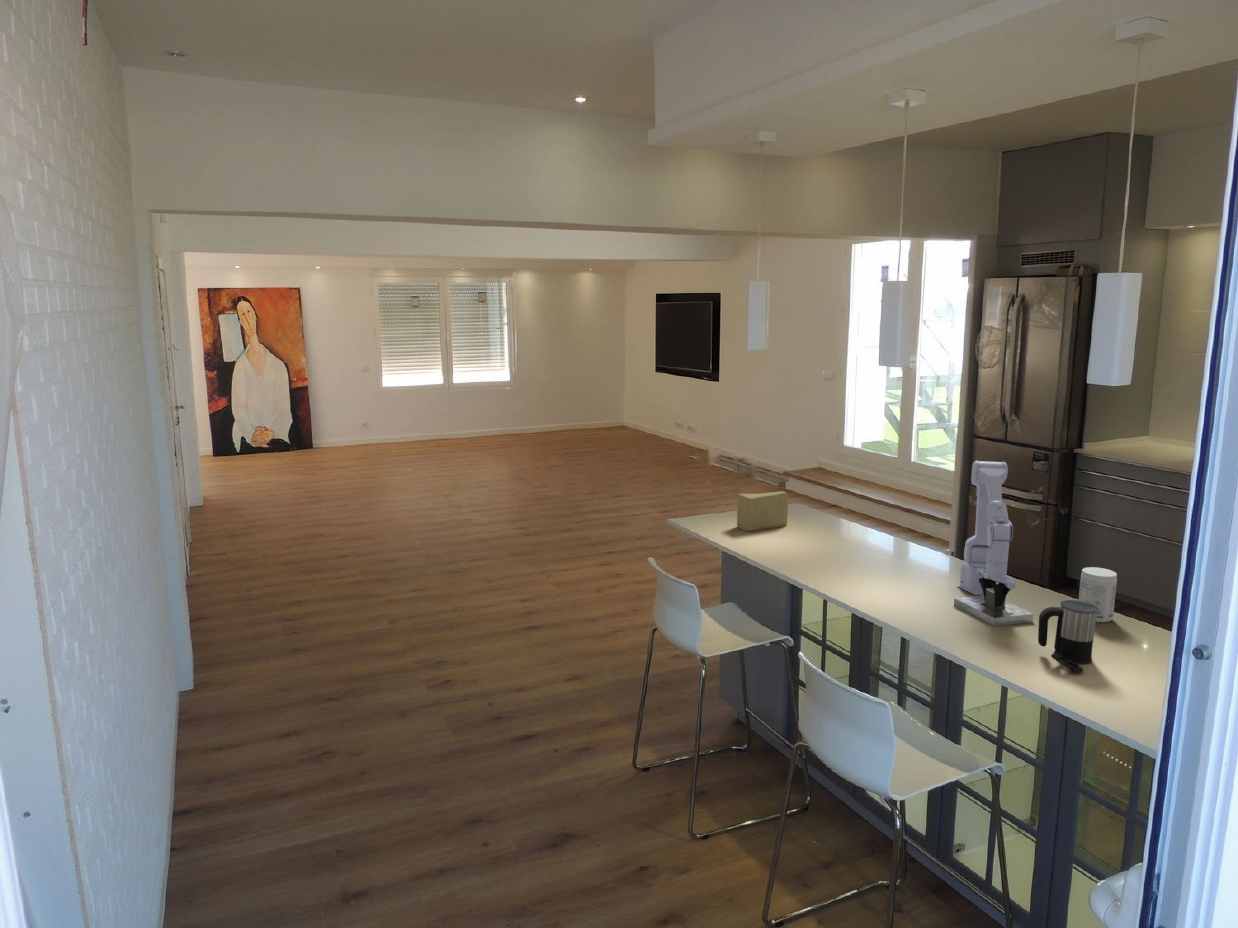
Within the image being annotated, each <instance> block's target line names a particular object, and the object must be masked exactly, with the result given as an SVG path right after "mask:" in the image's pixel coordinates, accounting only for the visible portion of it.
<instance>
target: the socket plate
mask: <svg viewBox="0 0 1238 928" xmlns="http://www.w3.org/2000/svg"><path fill="white" fill-rule="evenodd" d="M984 605H985V600H984V594H983V595H975V596H974V595H971V596H963V597H961V596H960V597H954V599H953V606H954V607H956V608H958V609H959V610H962V611H963V612H965V613H967V614H969V615H970V616H973V617H975V618H977V619H979V620H980V621H983V622H985V623H987V624H988V625H990V626H992V627H998V626H1007V625H1009V626H1010V625H1015V624H1025V623H1033V621H1034V613H1032V612H1030V611H1028V610H1026V609H1024V608H1022V607H1019V606H1017V605H1015V604H1013V603H1011V602H1009V601H1007V600H1005V608H1003V609H993V610H991V609H989V608H987V607H985V606H984Z"/></svg>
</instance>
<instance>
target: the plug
mask: <svg viewBox="0 0 1238 928" xmlns="http://www.w3.org/2000/svg"><path fill="white" fill-rule="evenodd" d="M1006 599H1007V596H1006V597H1005V599H1004V602H1003V604H1002V606H1000V607H996V606H995V601H994V600H995V595H994V589H993V588H986V597H985V605H984V606H985V607H987V608H989V609H991V610H993V609H1003V608H1005V601H1007V600H1006Z"/></svg>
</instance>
